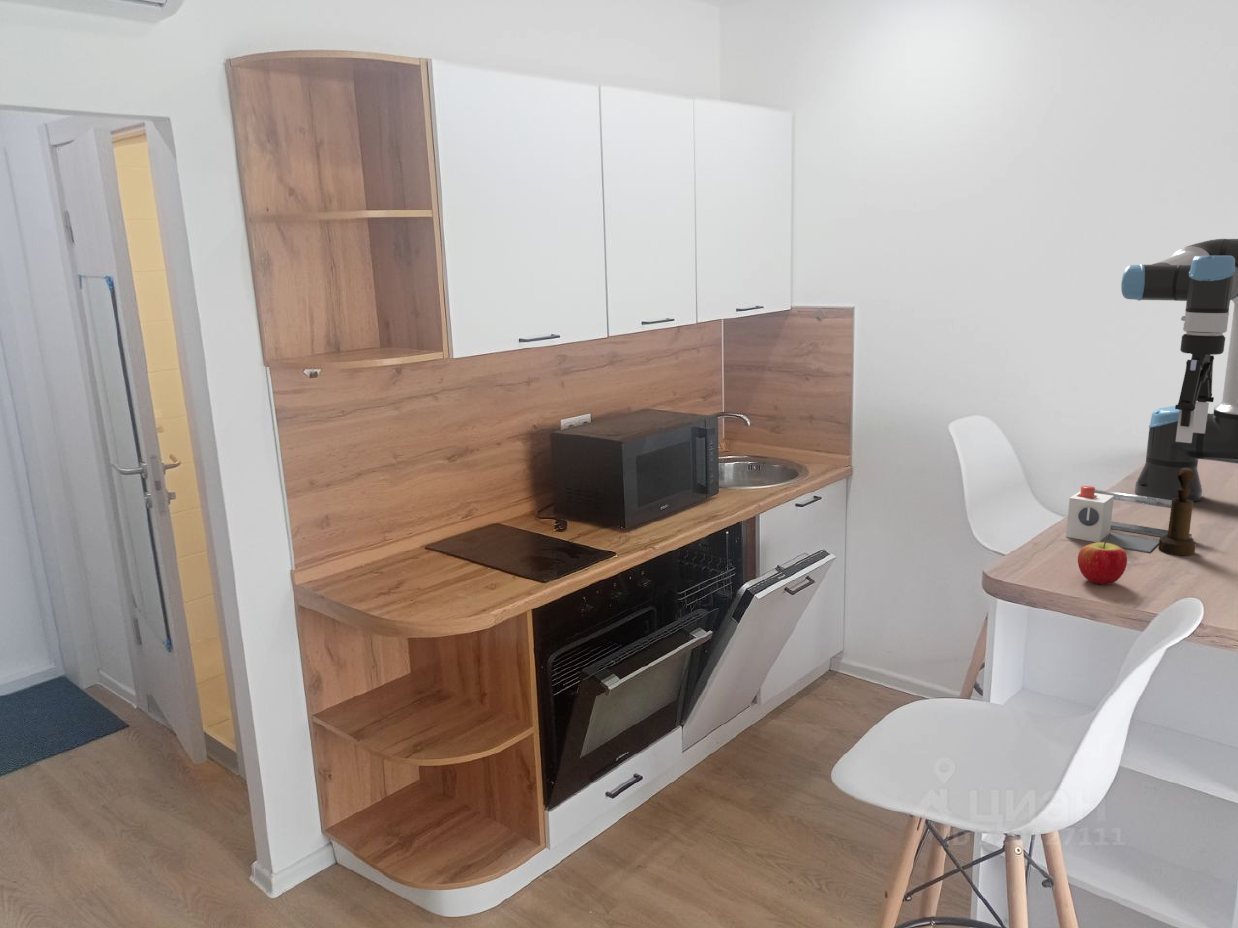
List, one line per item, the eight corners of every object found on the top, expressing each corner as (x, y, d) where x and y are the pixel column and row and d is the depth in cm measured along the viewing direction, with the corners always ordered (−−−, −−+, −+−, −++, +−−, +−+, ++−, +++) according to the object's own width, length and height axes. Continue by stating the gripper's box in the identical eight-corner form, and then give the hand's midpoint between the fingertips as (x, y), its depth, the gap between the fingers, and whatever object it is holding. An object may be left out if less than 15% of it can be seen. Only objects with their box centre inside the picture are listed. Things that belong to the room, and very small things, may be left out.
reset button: (1081, 504, 214) (1083, 485, 213) (1094, 506, 212) (1096, 487, 211) (1077, 507, 212) (1079, 487, 211) (1090, 509, 210) (1092, 489, 209)
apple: (1088, 590, 179) (1094, 539, 177) (1067, 575, 187) (1072, 526, 185) (1132, 589, 179) (1138, 538, 177) (1109, 574, 187) (1115, 526, 185)
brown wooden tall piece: (1190, 548, 204) (1201, 466, 200) (1197, 557, 198) (1208, 472, 194) (1155, 545, 206) (1165, 464, 202) (1161, 554, 200) (1171, 470, 196)
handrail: (1089, 520, 224) (1093, 487, 222) (1191, 537, 211) (1196, 501, 209) (1085, 524, 222) (1089, 490, 220) (1188, 541, 208) (1192, 505, 206)
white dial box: (1076, 528, 218) (1080, 490, 216) (1109, 534, 214) (1113, 495, 212) (1064, 537, 211) (1068, 498, 210) (1098, 543, 207) (1102, 503, 205)
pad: (1110, 533, 214) (1111, 532, 214) (1160, 541, 208) (1160, 540, 208) (1098, 543, 207) (1098, 542, 207) (1149, 552, 201) (1149, 551, 200)
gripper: (1195, 329, 203) (1182, 426, 208) (1168, 336, 185) (1155, 443, 189) (1236, 330, 198) (1222, 430, 203) (1213, 338, 180) (1199, 448, 185)
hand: (1190, 437), depth 196 cm, fingers open, 13 cm apart
